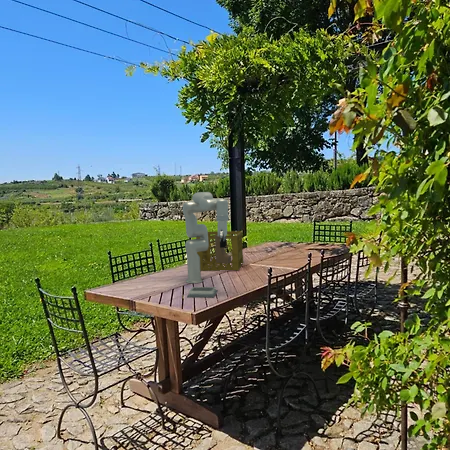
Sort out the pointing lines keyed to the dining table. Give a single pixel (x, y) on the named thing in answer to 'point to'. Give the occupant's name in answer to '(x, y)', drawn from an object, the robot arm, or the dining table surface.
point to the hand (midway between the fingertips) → (223, 246)
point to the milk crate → (236, 252)
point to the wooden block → (221, 252)
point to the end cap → (202, 292)
